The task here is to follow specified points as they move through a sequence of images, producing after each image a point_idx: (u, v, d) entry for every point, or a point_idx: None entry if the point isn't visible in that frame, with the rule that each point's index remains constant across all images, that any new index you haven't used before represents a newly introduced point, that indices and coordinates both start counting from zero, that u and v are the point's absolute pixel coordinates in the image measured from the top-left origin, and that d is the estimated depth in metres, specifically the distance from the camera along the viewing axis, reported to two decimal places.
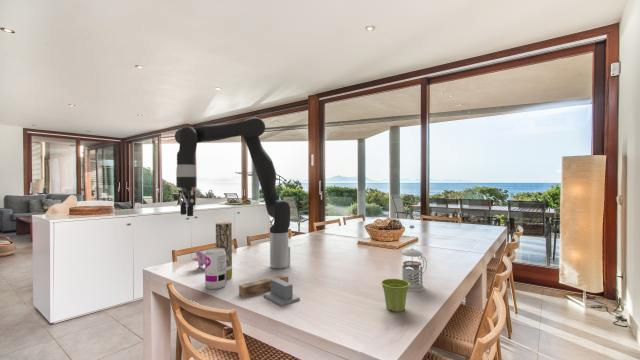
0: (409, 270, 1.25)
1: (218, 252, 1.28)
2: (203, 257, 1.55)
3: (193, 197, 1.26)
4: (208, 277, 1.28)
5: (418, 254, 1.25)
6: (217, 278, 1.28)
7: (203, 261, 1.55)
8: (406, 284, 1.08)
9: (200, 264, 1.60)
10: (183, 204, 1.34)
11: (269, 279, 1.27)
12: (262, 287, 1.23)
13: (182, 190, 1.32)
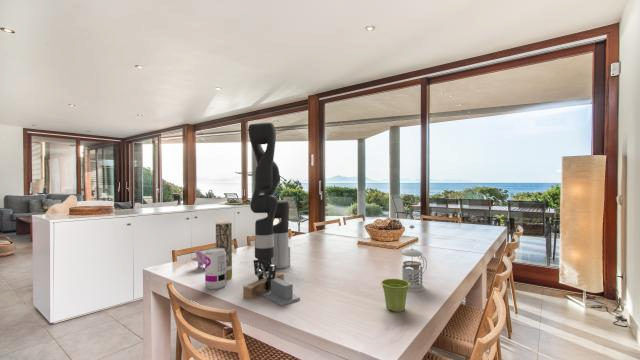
0: (409, 270, 1.25)
1: (218, 252, 1.28)
2: (203, 257, 1.56)
3: (274, 272, 1.22)
4: (208, 277, 1.28)
5: (418, 254, 1.25)
6: (217, 278, 1.28)
7: (203, 261, 1.56)
8: (406, 284, 1.08)
9: (200, 264, 1.60)
10: (261, 276, 1.29)
11: None
12: (264, 286, 1.24)
13: (260, 260, 1.27)
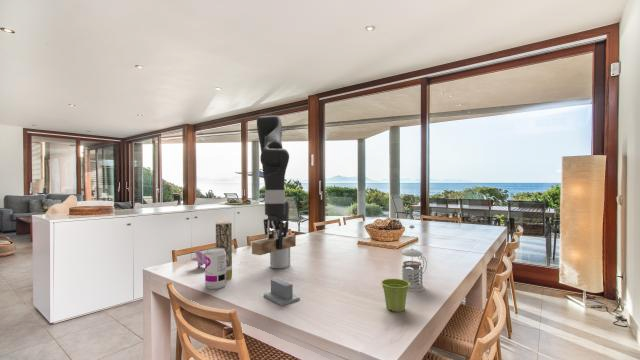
0: (409, 270, 1.25)
1: (218, 252, 1.28)
2: (203, 257, 1.56)
3: (285, 229, 1.14)
4: (208, 277, 1.28)
5: (418, 254, 1.25)
6: (217, 278, 1.28)
7: (203, 261, 1.56)
8: (406, 284, 1.08)
9: (199, 264, 1.60)
10: (271, 235, 1.21)
11: None
12: (275, 244, 1.15)
13: (270, 218, 1.19)
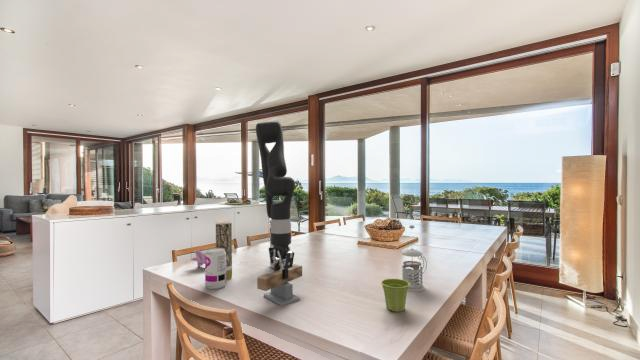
0: (409, 270, 1.25)
1: (218, 252, 1.28)
2: (202, 257, 1.56)
3: (291, 260, 1.13)
4: (208, 277, 1.28)
5: (418, 254, 1.25)
6: (217, 278, 1.28)
7: (202, 261, 1.56)
8: (406, 284, 1.08)
9: (199, 263, 1.60)
10: (277, 264, 1.19)
11: None
12: (280, 277, 1.14)
13: (276, 247, 1.18)
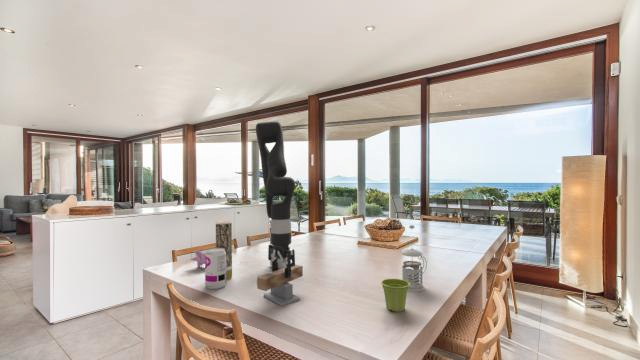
0: (409, 270, 1.25)
1: (218, 252, 1.28)
2: (202, 257, 1.56)
3: (293, 257, 1.12)
4: (208, 277, 1.28)
5: (418, 254, 1.25)
6: (217, 278, 1.28)
7: (202, 261, 1.56)
8: (406, 284, 1.08)
9: (199, 263, 1.60)
10: (275, 261, 1.20)
11: None
12: (280, 277, 1.14)
13: (276, 247, 1.18)
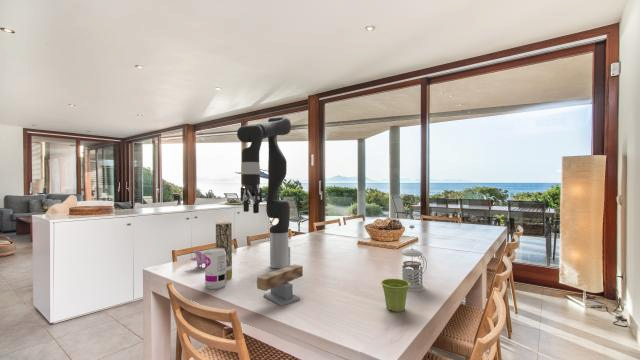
0: (409, 270, 1.25)
1: (218, 252, 1.28)
2: (202, 256, 1.57)
3: (260, 194, 1.28)
4: (208, 277, 1.28)
5: (418, 254, 1.25)
6: (217, 278, 1.28)
7: (202, 260, 1.56)
8: (406, 284, 1.08)
9: (199, 263, 1.61)
10: (246, 201, 1.36)
11: (285, 270, 1.18)
12: (280, 277, 1.14)
13: (246, 187, 1.33)
